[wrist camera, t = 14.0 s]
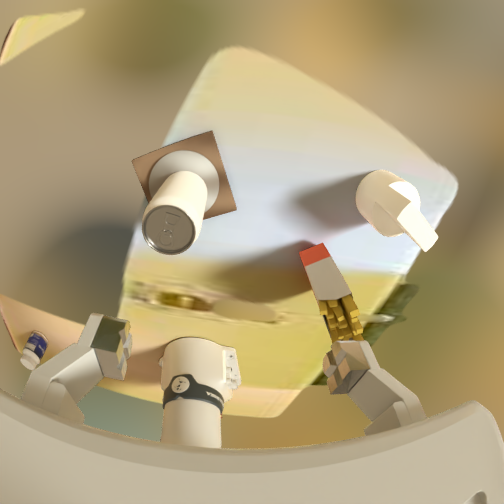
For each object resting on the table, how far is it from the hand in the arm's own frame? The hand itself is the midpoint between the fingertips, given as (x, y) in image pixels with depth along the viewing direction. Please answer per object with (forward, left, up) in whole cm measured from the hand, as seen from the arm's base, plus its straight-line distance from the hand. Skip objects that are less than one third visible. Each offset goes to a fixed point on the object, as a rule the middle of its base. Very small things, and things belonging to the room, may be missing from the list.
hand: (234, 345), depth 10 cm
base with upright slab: (-11, -22, -31) cm, 40 cm away
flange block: (-1, +7, -31) cm, 32 cm away
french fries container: (-21, -9, -31) cm, 39 cm away
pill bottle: (-24, +62, -31) cm, 74 cm away
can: (-2, +7, -30) cm, 31 cm away
